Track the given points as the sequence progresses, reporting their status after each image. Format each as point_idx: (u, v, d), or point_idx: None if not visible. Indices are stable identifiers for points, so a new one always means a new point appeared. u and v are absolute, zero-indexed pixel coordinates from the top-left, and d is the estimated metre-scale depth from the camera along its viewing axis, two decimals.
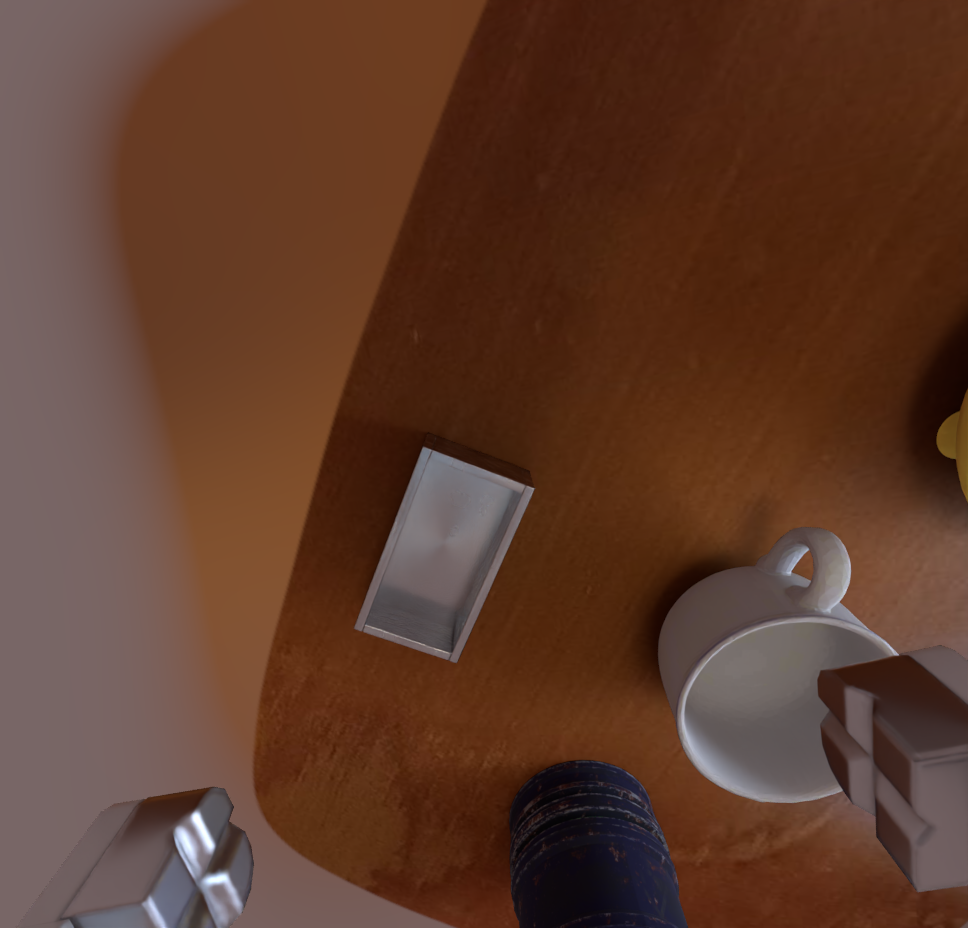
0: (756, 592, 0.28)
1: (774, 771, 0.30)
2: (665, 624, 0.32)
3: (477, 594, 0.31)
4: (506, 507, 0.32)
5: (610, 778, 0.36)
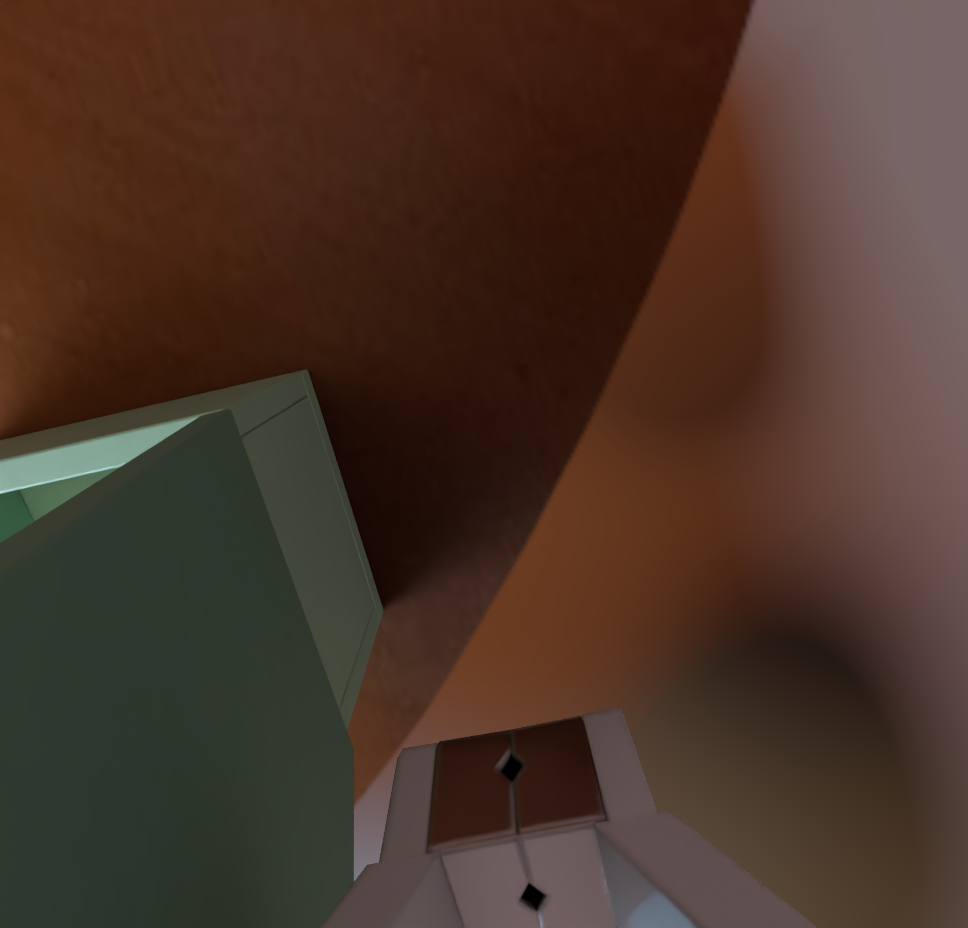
0: None
1: None
2: None
3: None
4: None
5: None
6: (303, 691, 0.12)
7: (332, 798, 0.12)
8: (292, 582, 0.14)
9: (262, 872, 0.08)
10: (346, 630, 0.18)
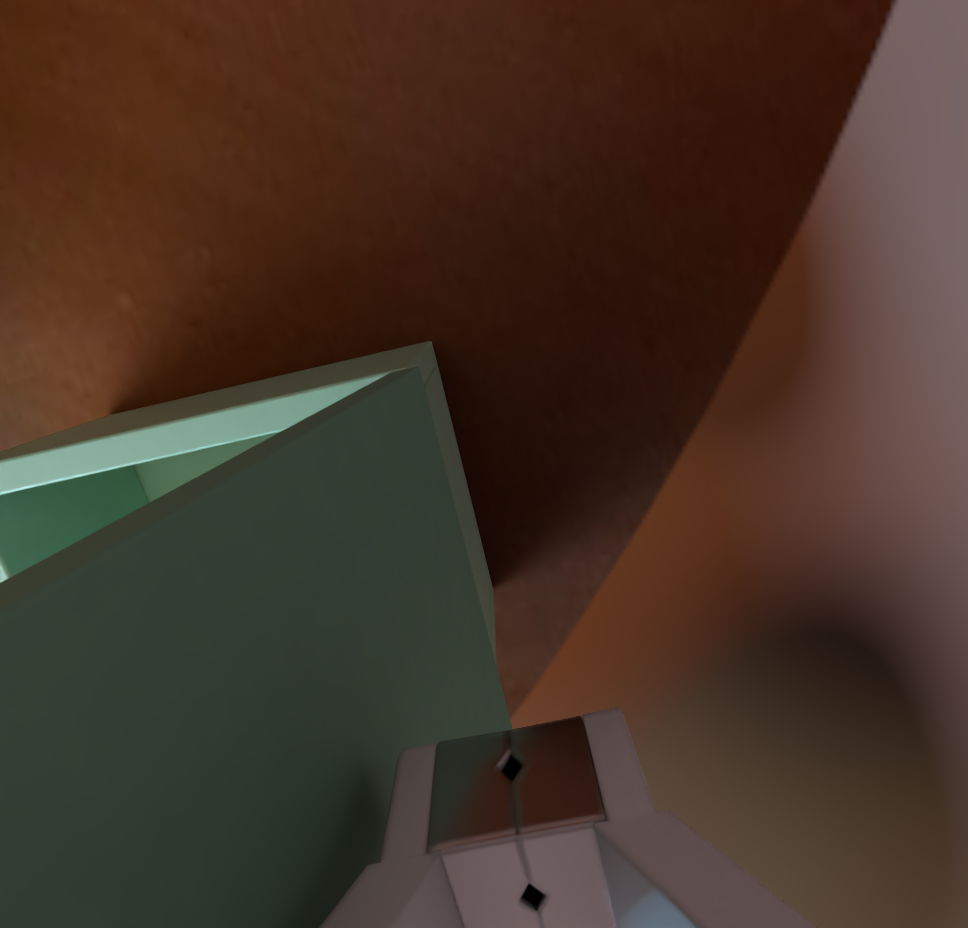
0: None
1: None
2: None
3: None
4: None
5: None
6: (458, 670, 0.12)
7: None
8: (465, 551, 0.13)
9: None
10: (483, 605, 0.17)
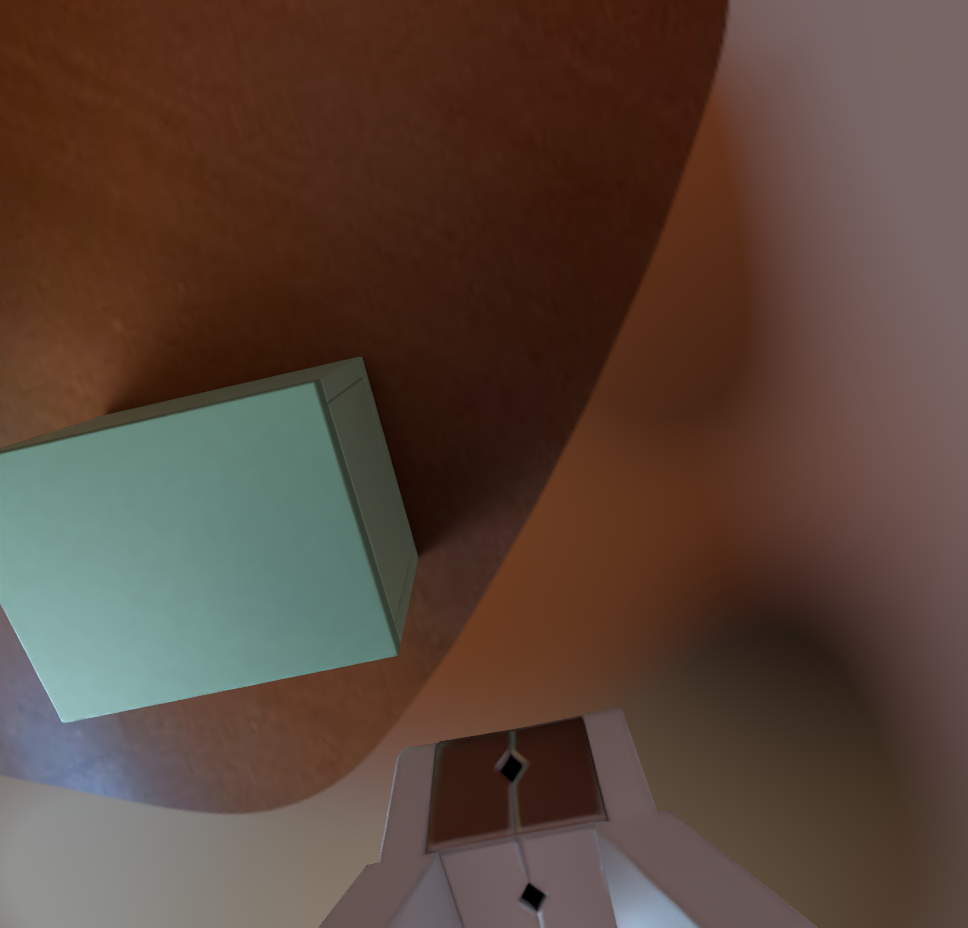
0: None
1: None
2: None
3: None
4: None
5: None
6: (294, 573, 0.19)
7: (293, 634, 0.19)
8: (350, 516, 0.18)
9: (156, 587, 0.19)
10: (397, 562, 0.22)
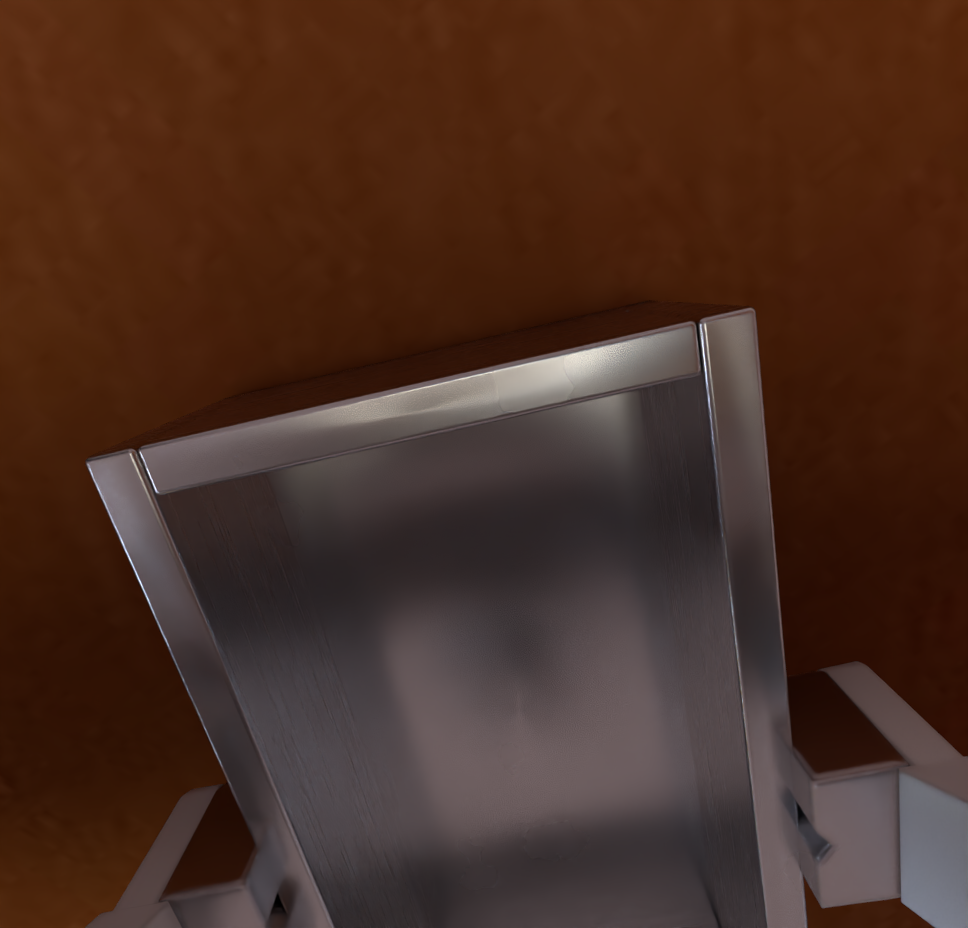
0: None
1: None
2: None
3: (291, 805, 0.06)
4: (415, 895, 0.10)
5: None
6: None
7: None
8: None
9: None
10: None
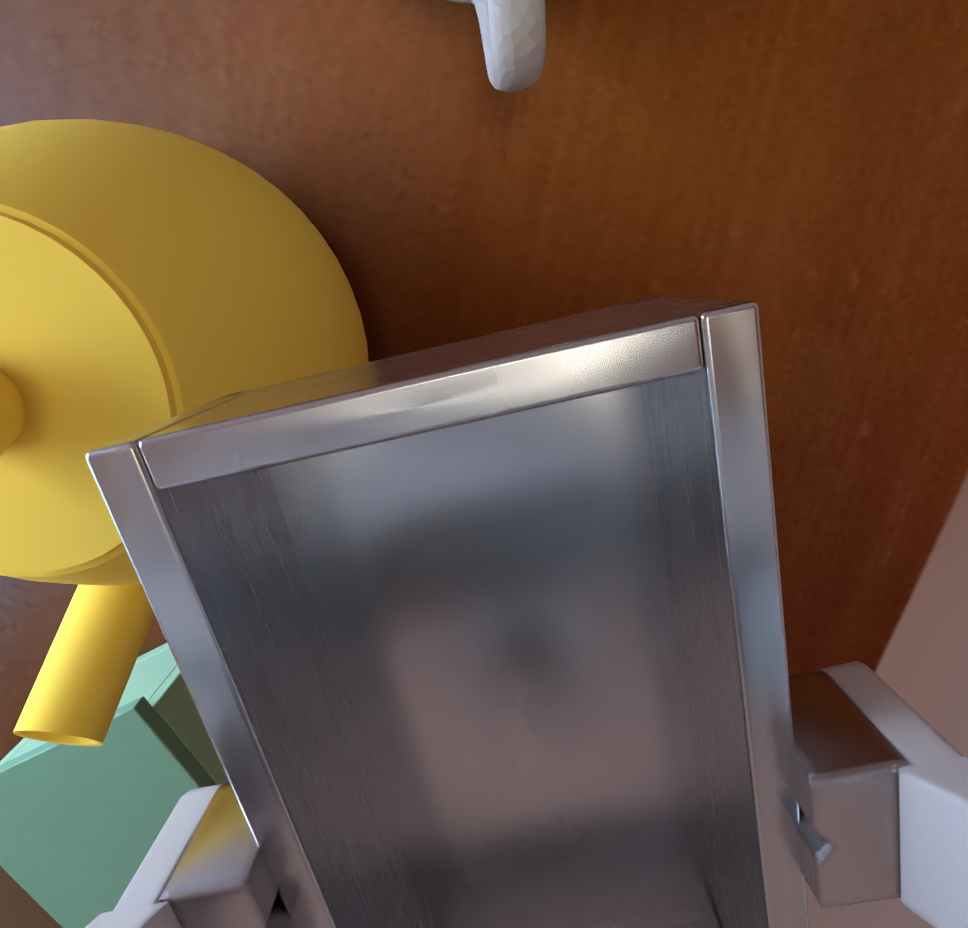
0: None
1: None
2: None
3: (291, 802, 0.06)
4: (415, 893, 0.10)
5: None
6: None
7: None
8: None
9: (105, 853, 0.23)
10: None
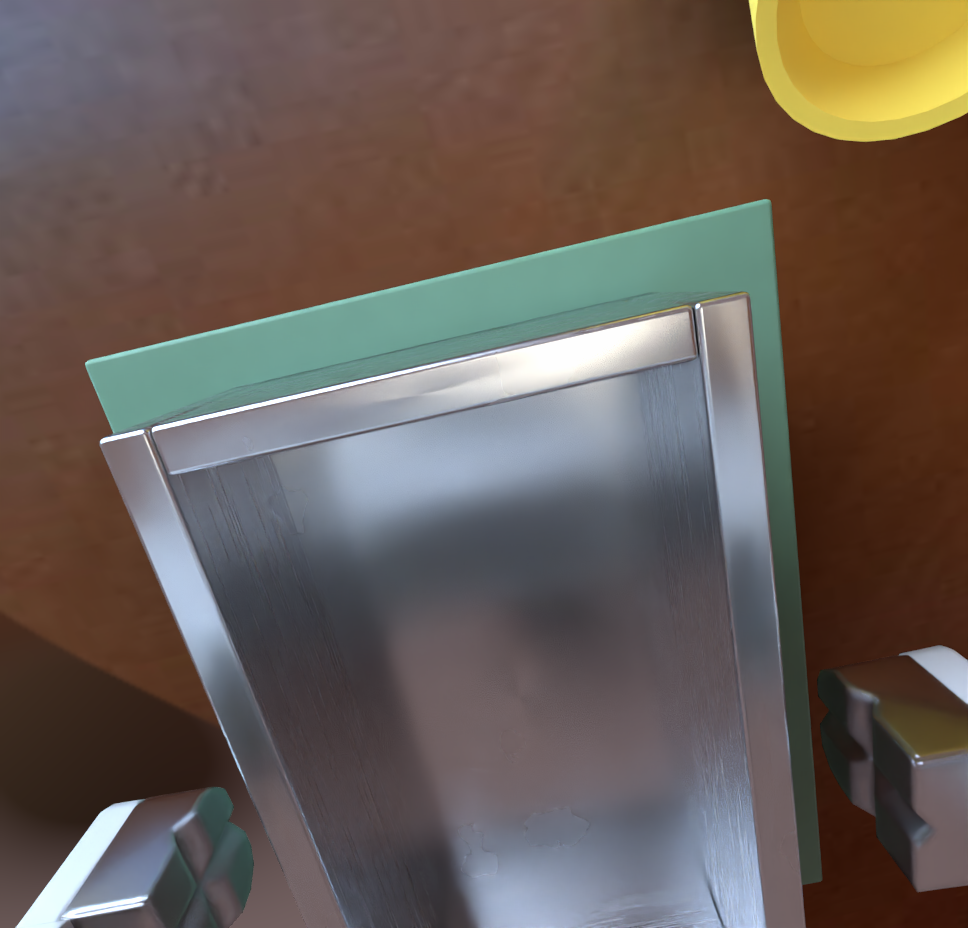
0: None
1: None
2: None
3: (297, 784, 0.07)
4: (416, 881, 0.10)
5: None
6: None
7: None
8: None
9: None
10: None
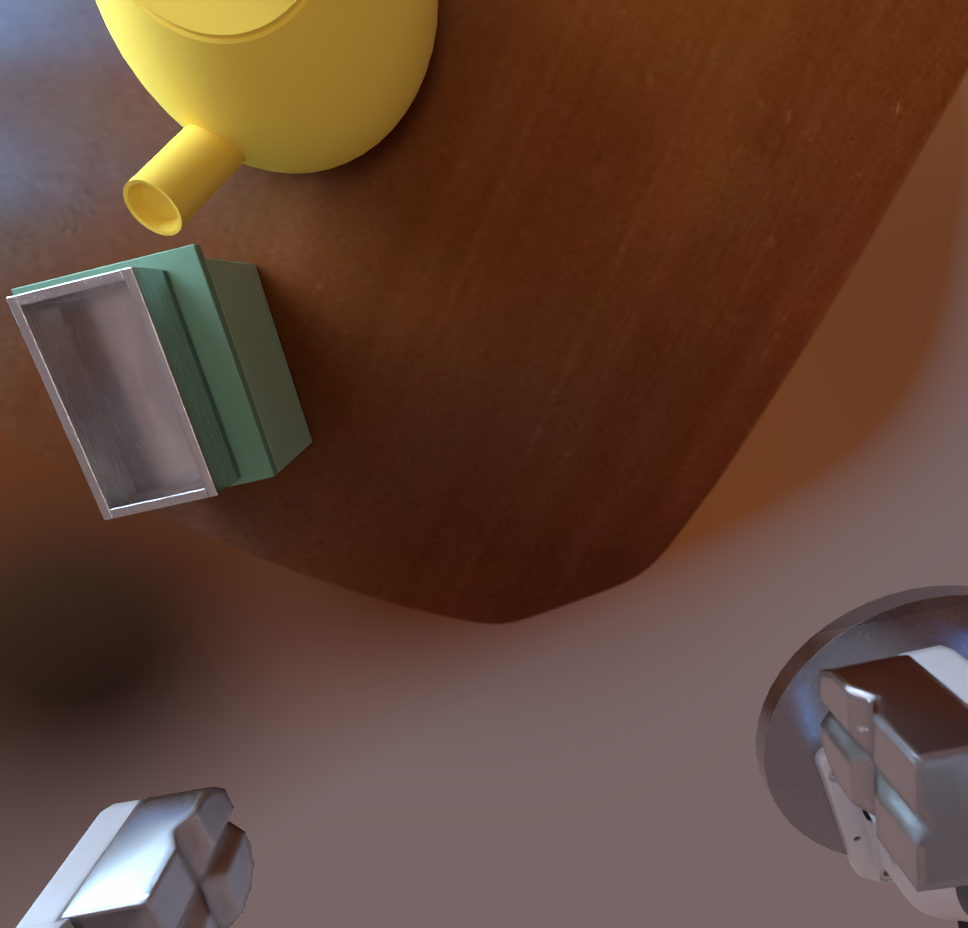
0: None
1: None
2: None
3: (58, 388, 0.27)
4: (123, 463, 0.30)
5: None
6: None
7: None
8: None
9: None
10: None
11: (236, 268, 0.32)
